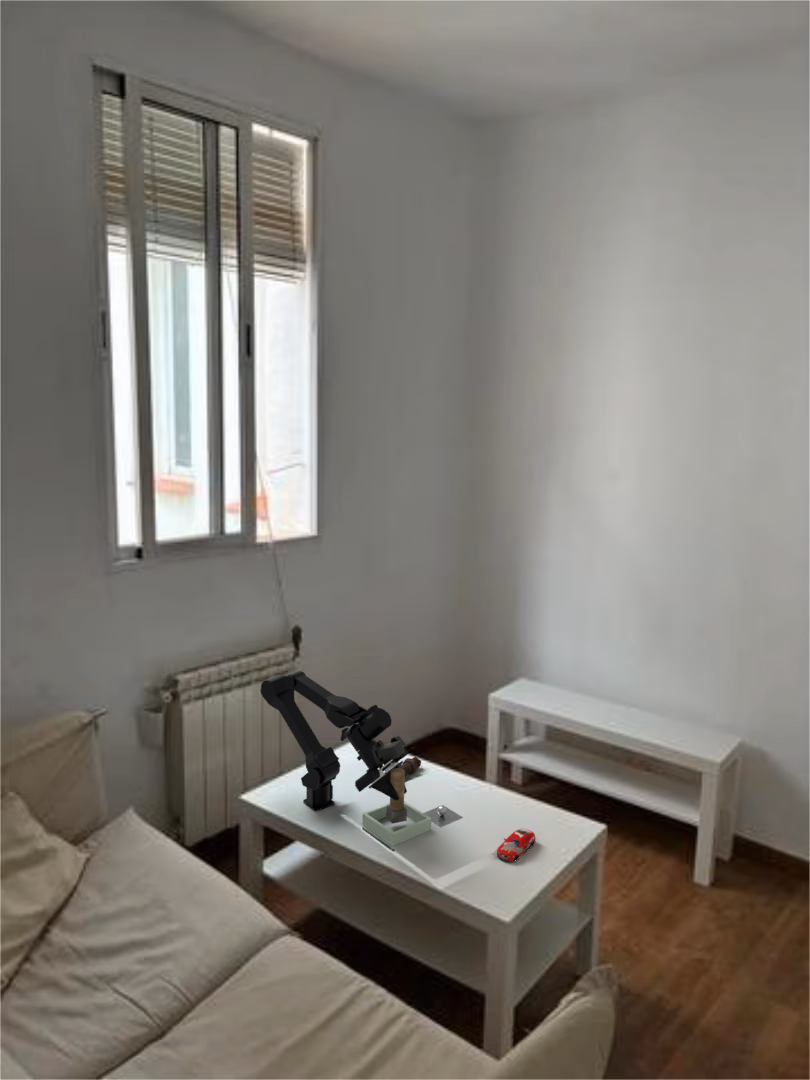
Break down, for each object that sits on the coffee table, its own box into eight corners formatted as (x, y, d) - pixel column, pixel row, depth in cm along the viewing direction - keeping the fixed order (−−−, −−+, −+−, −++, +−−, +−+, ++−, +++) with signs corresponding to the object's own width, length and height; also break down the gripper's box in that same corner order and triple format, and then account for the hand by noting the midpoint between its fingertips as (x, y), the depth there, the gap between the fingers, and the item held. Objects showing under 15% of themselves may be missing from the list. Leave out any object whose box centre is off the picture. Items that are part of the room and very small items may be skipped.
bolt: (419, 773, 241) (392, 792, 228) (407, 762, 243) (379, 779, 230) (428, 760, 239) (401, 778, 226) (415, 748, 241) (389, 766, 228)
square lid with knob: (440, 832, 206) (441, 817, 205) (420, 819, 212) (420, 804, 211) (462, 822, 211) (463, 808, 210) (442, 810, 217) (443, 795, 216)
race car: (511, 866, 192) (512, 851, 191) (492, 858, 195) (493, 843, 195) (538, 843, 202) (539, 829, 201) (520, 836, 205) (521, 821, 205)
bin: (392, 851, 196) (393, 834, 196) (362, 829, 206) (362, 813, 205) (430, 834, 204) (431, 818, 204) (399, 814, 214) (400, 798, 213)
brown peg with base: (392, 823, 202) (393, 776, 200) (386, 815, 206) (387, 769, 203) (406, 820, 204) (408, 773, 201) (400, 813, 207) (402, 766, 205)
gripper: (366, 743, 194) (404, 797, 191) (403, 717, 210) (439, 766, 207) (338, 765, 199) (375, 818, 196) (376, 738, 215) (411, 786, 212)
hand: (401, 796), depth 203 cm, fingers closed on brown peg with base, 4 cm apart
